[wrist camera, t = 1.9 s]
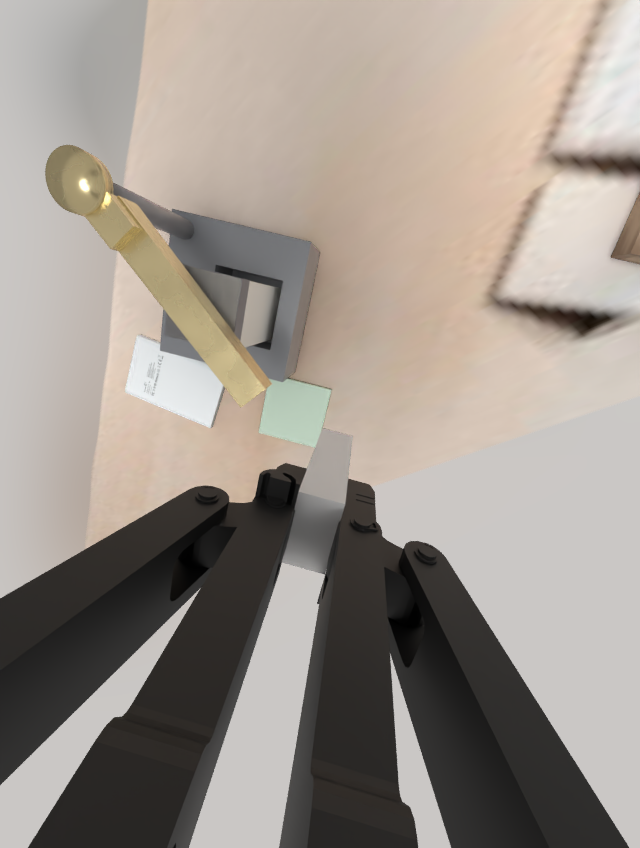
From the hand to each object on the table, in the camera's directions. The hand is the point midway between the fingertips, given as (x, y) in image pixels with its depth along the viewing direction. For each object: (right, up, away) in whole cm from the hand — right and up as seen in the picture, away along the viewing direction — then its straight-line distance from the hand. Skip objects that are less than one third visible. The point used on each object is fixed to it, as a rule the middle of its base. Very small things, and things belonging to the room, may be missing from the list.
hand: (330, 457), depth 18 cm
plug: (-8, +15, +25) cm, 30 cm away
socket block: (-9, +16, +26) cm, 32 cm away
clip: (-11, +12, +9) cm, 18 cm away
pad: (-4, +3, +30) cm, 30 cm away
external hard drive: (-19, +7, +31) cm, 38 cm away
